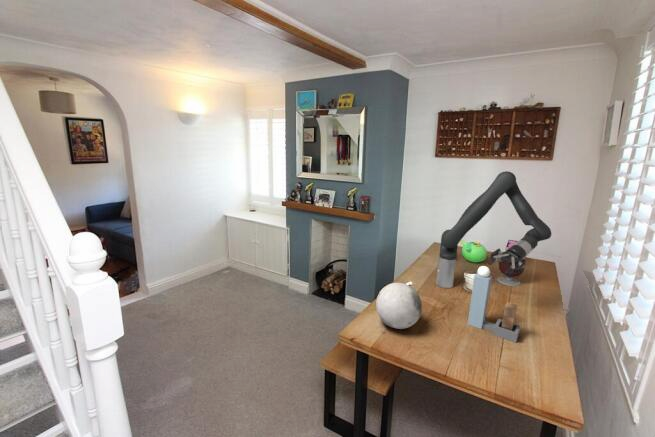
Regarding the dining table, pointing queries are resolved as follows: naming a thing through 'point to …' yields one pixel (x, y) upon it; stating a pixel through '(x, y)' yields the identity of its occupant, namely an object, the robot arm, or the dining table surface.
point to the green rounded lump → (474, 251)
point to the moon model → (398, 305)
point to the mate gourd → (509, 280)
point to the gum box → (510, 244)
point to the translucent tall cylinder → (509, 316)
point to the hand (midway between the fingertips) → (497, 268)
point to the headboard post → (480, 307)
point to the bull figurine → (410, 284)
